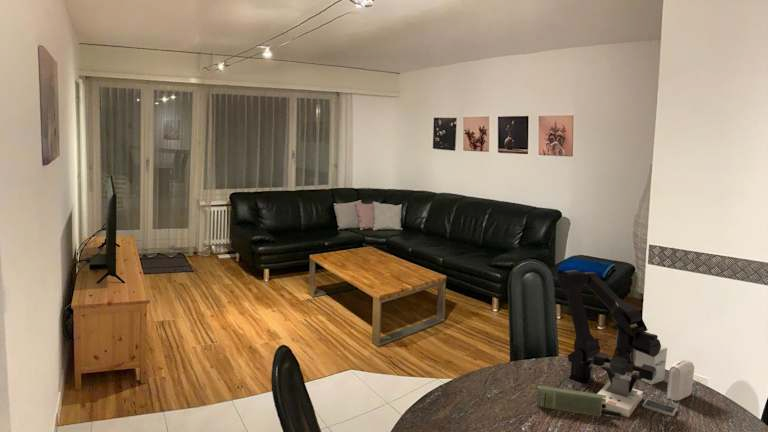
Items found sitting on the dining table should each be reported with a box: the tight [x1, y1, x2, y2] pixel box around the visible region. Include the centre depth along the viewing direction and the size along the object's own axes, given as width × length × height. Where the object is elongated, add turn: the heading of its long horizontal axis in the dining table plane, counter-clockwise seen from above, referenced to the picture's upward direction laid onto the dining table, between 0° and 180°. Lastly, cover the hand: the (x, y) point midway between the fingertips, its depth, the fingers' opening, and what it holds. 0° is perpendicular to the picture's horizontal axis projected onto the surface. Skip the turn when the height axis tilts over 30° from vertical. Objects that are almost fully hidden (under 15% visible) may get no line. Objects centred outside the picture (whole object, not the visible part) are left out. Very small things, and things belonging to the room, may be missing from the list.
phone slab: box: [642, 398, 678, 418], centre depth 166 cm, size 5×9×1 cm, turn 50°
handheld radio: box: [536, 385, 622, 418], centre depth 163 cm, size 7×3×25 cm
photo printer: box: [666, 359, 695, 402], centre depth 174 cm, size 10×4×12 cm, turn 123°
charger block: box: [611, 373, 631, 398], centre depth 172 cm, size 5×5×6 cm
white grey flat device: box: [597, 380, 644, 418], centre depth 170 cm, size 11×16×3 cm
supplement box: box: [634, 345, 668, 386], centre depth 186 cm, size 7×7×13 cm
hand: (621, 389), depth 172 cm, fingers closed on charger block, 5 cm apart
